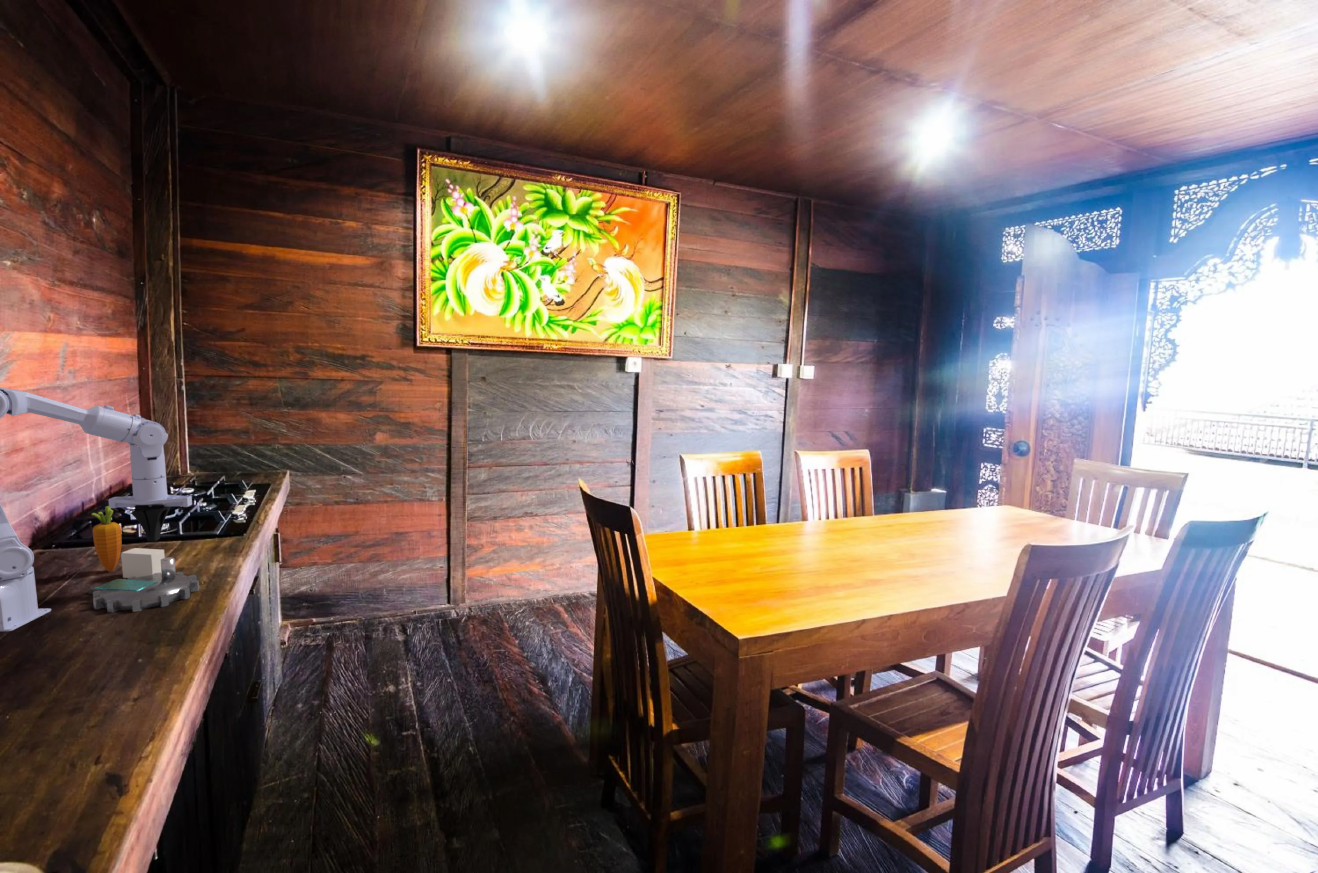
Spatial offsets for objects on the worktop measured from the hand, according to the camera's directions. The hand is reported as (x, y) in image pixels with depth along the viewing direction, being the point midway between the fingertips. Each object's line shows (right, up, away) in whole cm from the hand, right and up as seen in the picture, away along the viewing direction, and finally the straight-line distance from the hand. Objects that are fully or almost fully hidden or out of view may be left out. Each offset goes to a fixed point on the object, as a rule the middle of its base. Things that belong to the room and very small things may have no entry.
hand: (154, 540), depth 142 cm
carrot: (-17, -9, +9) cm, 21 cm away
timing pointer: (-9, -11, -3) cm, 14 cm away
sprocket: (+2, -11, -4) cm, 12 cm away
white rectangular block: (-7, -9, +7) cm, 14 cm away
